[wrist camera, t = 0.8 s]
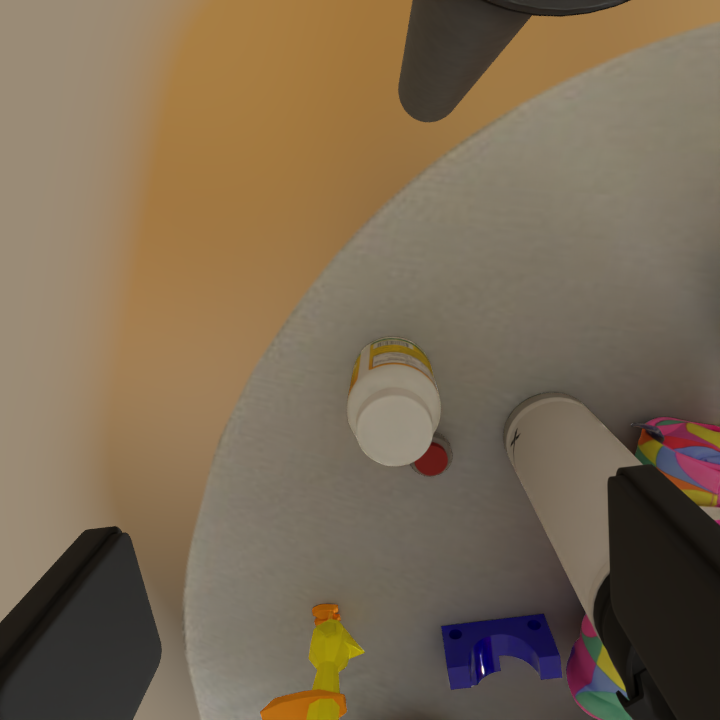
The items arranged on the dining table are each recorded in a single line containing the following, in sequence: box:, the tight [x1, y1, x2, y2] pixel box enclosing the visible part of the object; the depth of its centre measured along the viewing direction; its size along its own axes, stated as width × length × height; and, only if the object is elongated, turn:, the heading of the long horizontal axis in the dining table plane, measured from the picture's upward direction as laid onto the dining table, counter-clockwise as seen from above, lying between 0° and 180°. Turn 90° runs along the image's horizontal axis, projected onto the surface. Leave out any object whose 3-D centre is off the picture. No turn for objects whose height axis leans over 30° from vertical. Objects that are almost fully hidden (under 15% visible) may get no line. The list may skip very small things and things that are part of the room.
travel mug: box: [503, 392, 677, 720], centre depth 28 cm, size 6×7×20 cm
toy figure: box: [260, 604, 365, 720], centre depth 37 cm, size 7×4×12 cm, turn 101°
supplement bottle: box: [347, 337, 441, 466], centre depth 32 cm, size 5×5×10 cm
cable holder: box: [441, 614, 562, 690], centre depth 41 cm, size 8×4×4 cm, turn 100°
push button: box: [410, 432, 452, 477], centre depth 38 cm, size 3×3×2 cm
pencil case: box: [566, 417, 720, 720], centre depth 36 cm, size 22×9×9 cm, turn 173°
